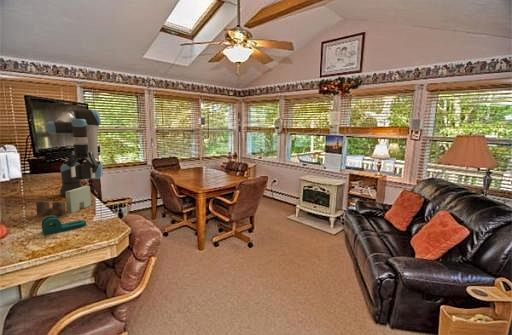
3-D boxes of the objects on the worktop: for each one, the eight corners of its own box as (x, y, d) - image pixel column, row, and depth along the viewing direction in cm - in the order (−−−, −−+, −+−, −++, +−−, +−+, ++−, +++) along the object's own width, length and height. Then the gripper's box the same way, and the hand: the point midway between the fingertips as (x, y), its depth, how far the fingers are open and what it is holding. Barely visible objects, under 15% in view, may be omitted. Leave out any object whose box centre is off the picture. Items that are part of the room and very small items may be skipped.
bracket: (45, 236, 126) (43, 220, 125) (42, 232, 130) (40, 217, 129) (88, 226, 139) (86, 212, 138) (84, 223, 143) (83, 209, 142)
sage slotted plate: (71, 213, 158) (69, 192, 155) (67, 212, 158) (65, 191, 156) (91, 205, 173) (89, 186, 171) (87, 205, 174) (85, 185, 171)
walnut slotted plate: (37, 214, 153) (35, 201, 152) (41, 213, 155) (39, 200, 154) (62, 216, 151) (60, 203, 150) (65, 215, 154) (64, 202, 152)
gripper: (57, 143, 162) (60, 177, 165) (94, 145, 159) (97, 179, 162) (67, 143, 169) (70, 175, 172) (103, 144, 166) (105, 177, 169)
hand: (83, 177), depth 167 cm, fingers open, 13 cm apart
